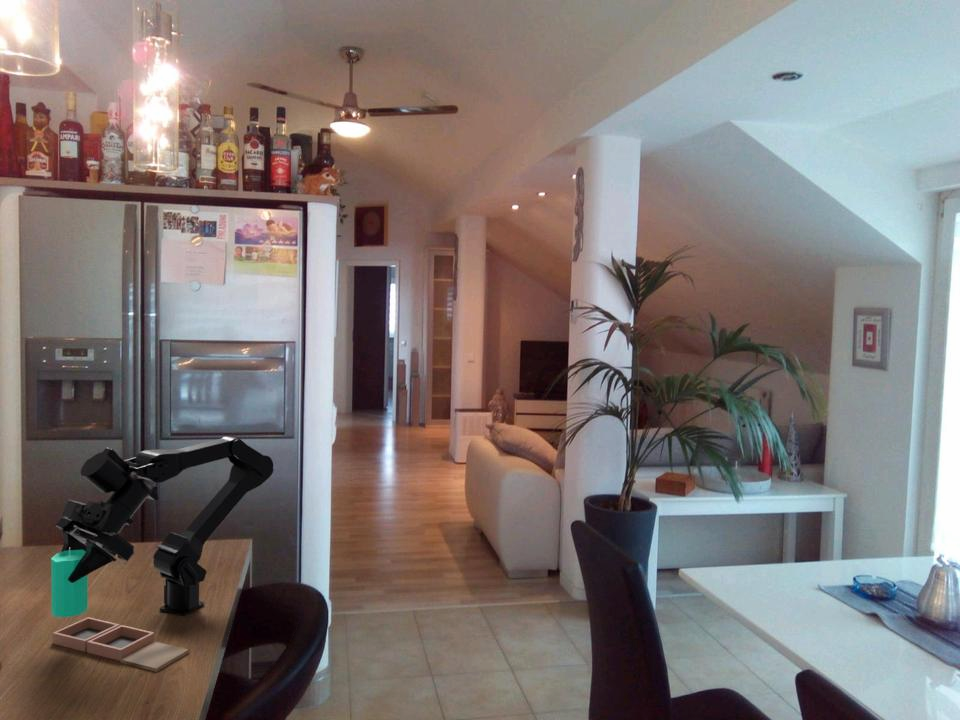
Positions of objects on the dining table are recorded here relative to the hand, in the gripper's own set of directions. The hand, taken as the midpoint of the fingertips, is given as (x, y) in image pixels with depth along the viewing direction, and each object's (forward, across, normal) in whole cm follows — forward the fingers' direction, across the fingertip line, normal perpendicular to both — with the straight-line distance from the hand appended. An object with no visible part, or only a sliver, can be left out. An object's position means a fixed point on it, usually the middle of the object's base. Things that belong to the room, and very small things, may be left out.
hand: (62, 577), depth 136 cm
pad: (+4, +16, +16) cm, 23 cm away
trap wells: (+5, +4, +14) cm, 15 cm away
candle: (+4, 0, +6) cm, 7 cm away
